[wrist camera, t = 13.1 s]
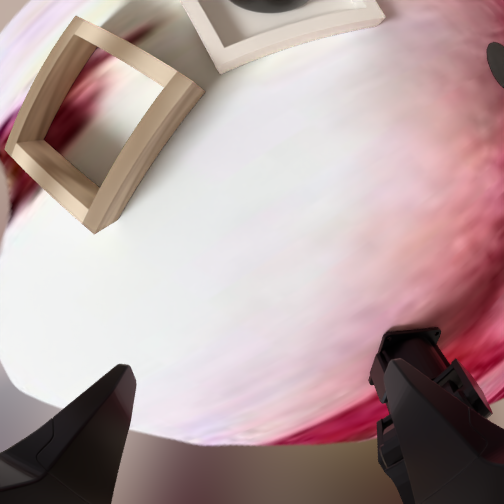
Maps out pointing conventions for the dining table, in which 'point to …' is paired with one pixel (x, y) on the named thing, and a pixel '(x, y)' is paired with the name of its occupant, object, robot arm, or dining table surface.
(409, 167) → the dining table surface
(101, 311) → the dining table surface
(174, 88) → the frame
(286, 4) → the supplement bottle
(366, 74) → the dining table surface
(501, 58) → the sundae
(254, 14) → the dock
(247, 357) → the dining table surface
